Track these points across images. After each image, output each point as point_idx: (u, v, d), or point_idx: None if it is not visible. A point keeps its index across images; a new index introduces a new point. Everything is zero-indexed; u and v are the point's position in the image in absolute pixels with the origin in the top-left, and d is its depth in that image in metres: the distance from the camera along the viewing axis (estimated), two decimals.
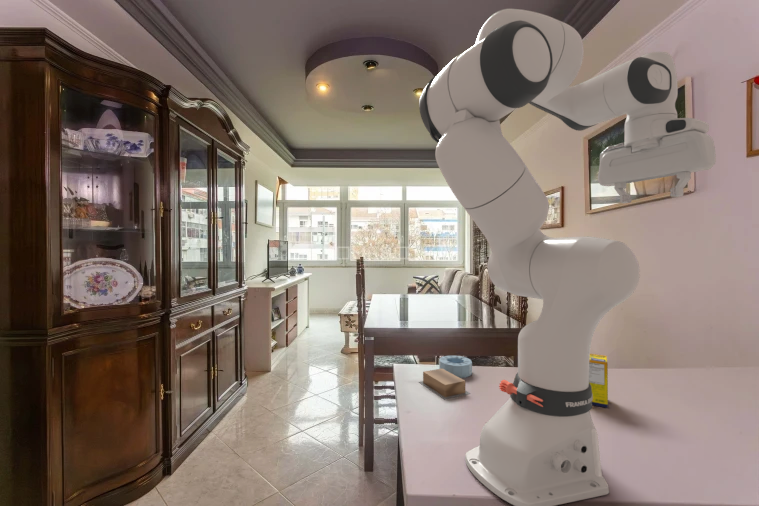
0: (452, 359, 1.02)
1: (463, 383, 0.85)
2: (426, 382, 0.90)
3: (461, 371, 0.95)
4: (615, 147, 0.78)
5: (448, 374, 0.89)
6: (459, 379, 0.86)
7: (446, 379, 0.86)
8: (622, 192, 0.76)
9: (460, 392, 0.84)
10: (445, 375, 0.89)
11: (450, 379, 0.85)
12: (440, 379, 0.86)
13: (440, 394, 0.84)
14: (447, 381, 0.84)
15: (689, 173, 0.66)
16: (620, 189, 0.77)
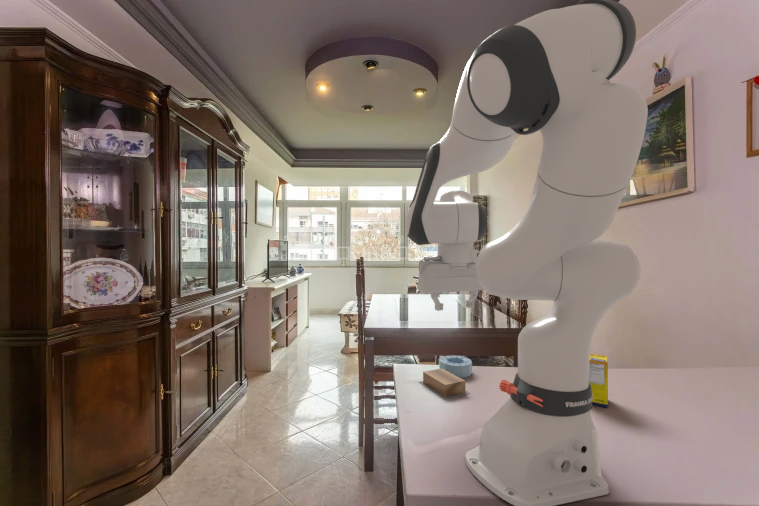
0: (452, 359, 1.02)
1: (463, 383, 0.85)
2: (426, 382, 0.90)
3: (461, 371, 0.95)
4: (432, 259, 0.84)
5: (448, 374, 0.89)
6: (459, 379, 0.86)
7: (446, 379, 0.86)
8: None
9: (460, 392, 0.84)
10: (445, 375, 0.89)
11: (450, 379, 0.85)
12: (440, 379, 0.86)
13: (440, 394, 0.84)
14: (447, 381, 0.84)
15: None
16: None
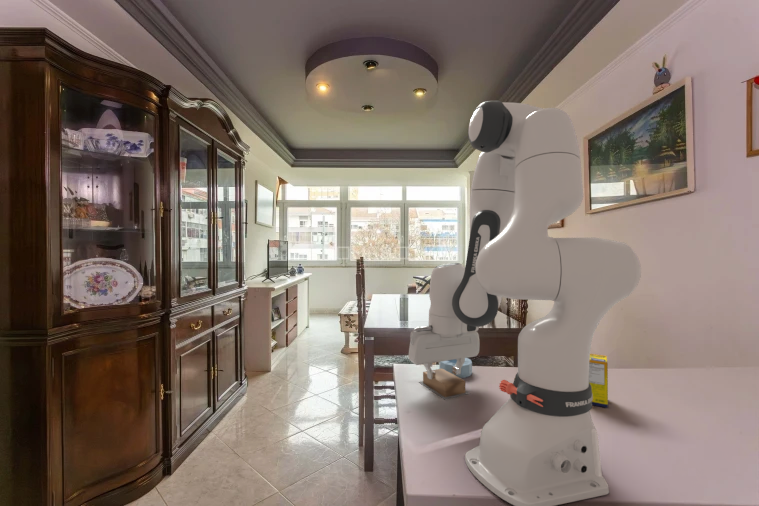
0: None
1: (463, 383, 0.85)
2: (426, 382, 0.90)
3: (461, 371, 0.95)
4: (424, 329, 0.86)
5: (448, 374, 0.89)
6: (459, 379, 0.86)
7: (446, 379, 0.86)
8: None
9: (460, 392, 0.84)
10: (445, 375, 0.89)
11: (450, 380, 0.85)
12: (440, 379, 0.86)
13: (440, 394, 0.84)
14: (447, 381, 0.84)
15: None
16: None
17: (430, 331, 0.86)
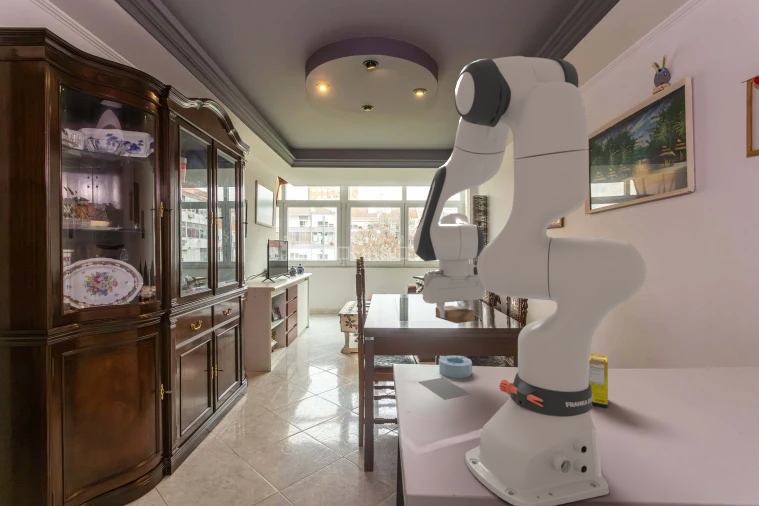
0: (452, 359, 1.02)
1: (472, 312, 0.96)
2: (439, 315, 1.01)
3: (461, 371, 0.95)
4: (436, 273, 0.96)
5: (458, 307, 1.01)
6: (468, 309, 0.97)
7: (457, 310, 0.97)
8: None
9: (469, 320, 0.96)
10: (455, 308, 1.00)
11: (460, 310, 0.97)
12: (451, 310, 0.97)
13: (440, 394, 0.84)
14: (458, 311, 0.96)
15: None
16: None
17: (441, 275, 0.97)
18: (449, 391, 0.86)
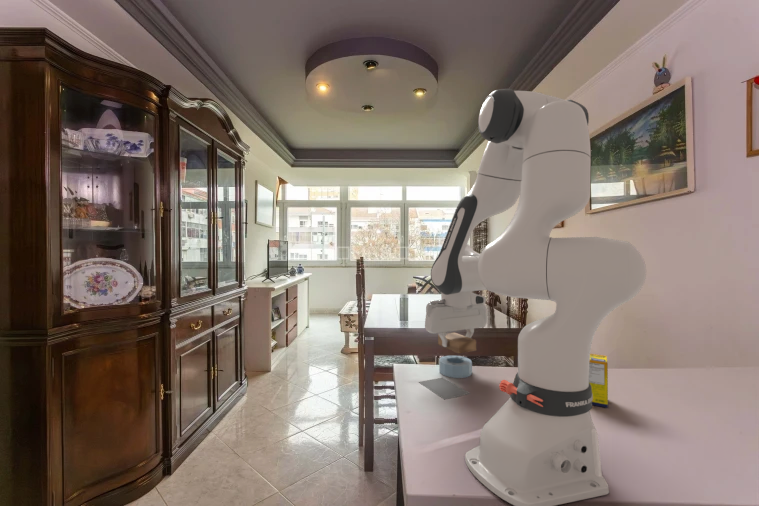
0: (452, 359, 1.02)
1: (474, 342, 0.96)
2: (441, 343, 1.02)
3: (461, 371, 0.95)
4: (438, 302, 0.97)
5: (460, 336, 1.01)
6: (470, 339, 0.97)
7: (459, 339, 0.97)
8: None
9: (471, 350, 0.96)
10: (457, 336, 1.00)
11: (462, 339, 0.97)
12: (453, 339, 0.98)
13: (440, 394, 0.84)
14: (460, 340, 0.96)
15: None
16: None
17: (443, 304, 0.97)
18: (449, 391, 0.86)
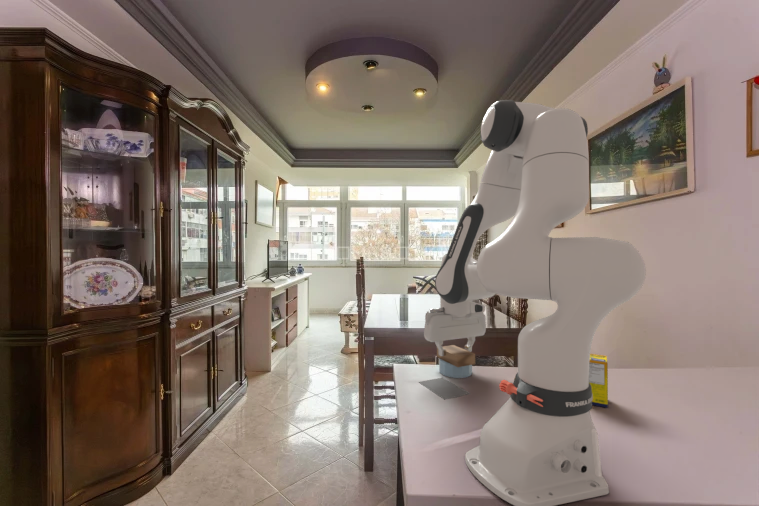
0: None
1: (473, 355, 0.96)
2: (440, 356, 1.01)
3: (461, 371, 0.95)
4: (437, 311, 0.96)
5: (459, 349, 1.01)
6: (469, 352, 0.97)
7: (458, 352, 0.97)
8: None
9: (470, 363, 0.96)
10: (456, 349, 1.00)
11: (461, 353, 0.97)
12: (453, 352, 0.97)
13: (440, 394, 0.84)
14: (459, 354, 0.96)
15: None
16: None
17: (442, 312, 0.97)
18: (449, 391, 0.86)
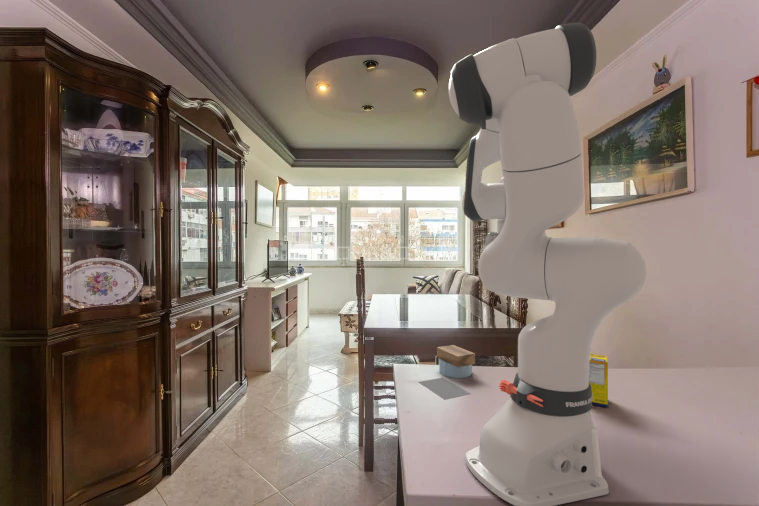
0: None
1: (473, 355, 0.96)
2: (440, 356, 1.01)
3: (461, 371, 0.95)
4: (497, 234, 0.94)
5: (459, 349, 1.01)
6: (469, 352, 0.97)
7: (458, 352, 0.97)
8: None
9: (470, 363, 0.96)
10: (456, 349, 1.00)
11: (461, 353, 0.97)
12: (453, 352, 0.97)
13: (440, 394, 0.84)
14: (459, 354, 0.96)
15: None
16: None
17: None
18: (449, 391, 0.86)
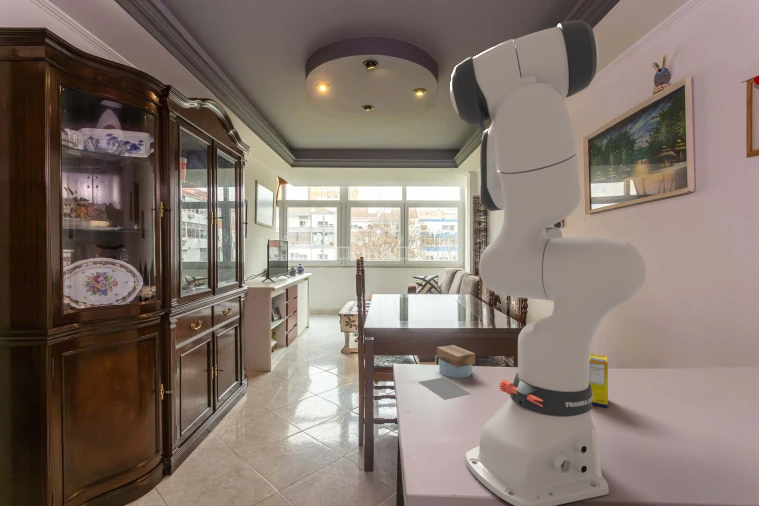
0: None
1: (473, 355, 0.96)
2: (440, 356, 1.01)
3: (461, 371, 0.95)
4: None
5: (459, 349, 1.01)
6: (469, 352, 0.97)
7: (458, 352, 0.97)
8: None
9: (470, 363, 0.96)
10: (456, 349, 1.00)
11: (461, 353, 0.97)
12: (453, 352, 0.97)
13: (440, 394, 0.84)
14: (459, 354, 0.96)
15: None
16: None
17: None
18: (449, 391, 0.86)
